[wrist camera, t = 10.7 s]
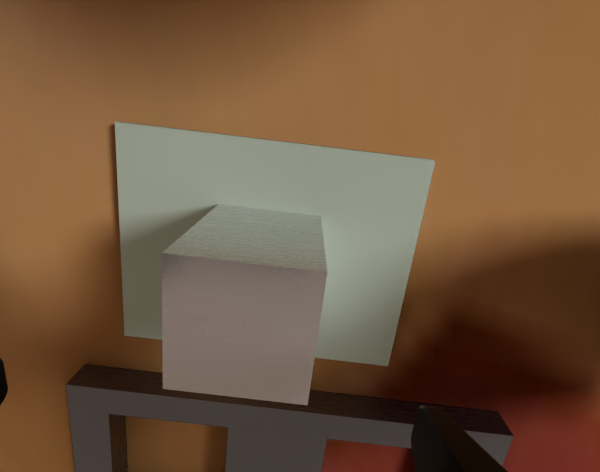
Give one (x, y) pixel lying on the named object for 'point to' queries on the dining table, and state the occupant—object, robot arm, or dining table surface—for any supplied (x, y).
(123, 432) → the grey flat frame
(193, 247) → the steel peg
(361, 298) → the sage mat
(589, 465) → the dining table surface
